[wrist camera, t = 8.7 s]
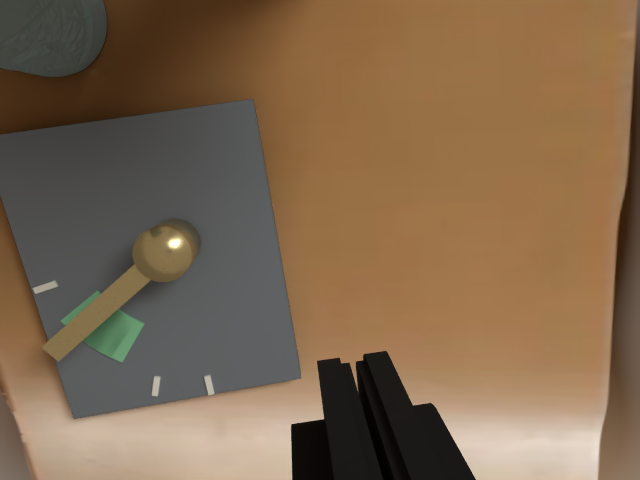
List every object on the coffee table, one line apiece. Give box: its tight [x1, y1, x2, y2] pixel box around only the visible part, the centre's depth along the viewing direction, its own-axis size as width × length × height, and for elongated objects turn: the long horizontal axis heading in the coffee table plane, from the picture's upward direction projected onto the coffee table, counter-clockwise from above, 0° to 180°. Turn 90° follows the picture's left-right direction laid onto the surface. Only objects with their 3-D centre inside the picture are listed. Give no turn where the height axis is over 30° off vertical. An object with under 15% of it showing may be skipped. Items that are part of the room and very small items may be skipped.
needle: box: [41, 219, 201, 362], centre depth 31 cm, size 14×4×4 cm, turn 130°
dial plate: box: [0, 99, 301, 419], centre depth 33 cm, size 24×20×2 cm
